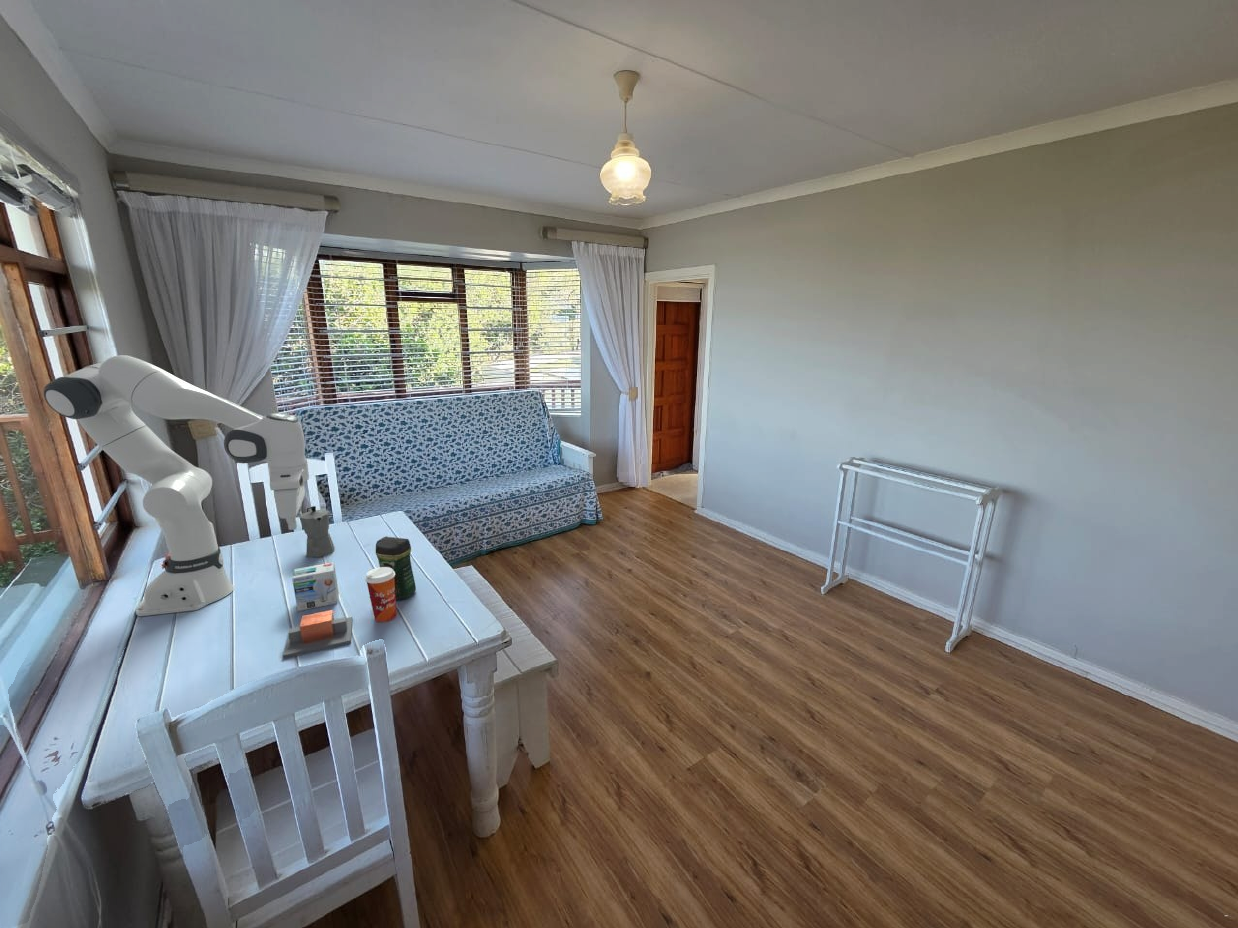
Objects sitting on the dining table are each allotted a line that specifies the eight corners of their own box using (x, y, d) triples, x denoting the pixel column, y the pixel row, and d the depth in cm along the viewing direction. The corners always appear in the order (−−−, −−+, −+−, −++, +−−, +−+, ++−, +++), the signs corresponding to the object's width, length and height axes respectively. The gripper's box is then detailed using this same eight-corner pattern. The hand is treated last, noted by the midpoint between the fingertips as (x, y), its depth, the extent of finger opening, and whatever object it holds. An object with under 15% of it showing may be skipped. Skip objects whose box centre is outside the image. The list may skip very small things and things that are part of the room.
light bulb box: (297, 611, 144) (290, 578, 142) (299, 601, 150) (293, 568, 147) (339, 603, 149) (333, 570, 146) (339, 592, 155) (334, 561, 152)
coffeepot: (340, 554, 181) (333, 507, 176) (311, 562, 175) (302, 514, 170) (328, 541, 192) (320, 497, 187) (300, 548, 185) (291, 503, 181)
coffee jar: (420, 589, 157) (414, 535, 152) (404, 602, 150) (397, 545, 145) (394, 585, 159) (387, 531, 154) (376, 598, 152) (369, 542, 147)
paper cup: (381, 627, 137) (375, 581, 134) (365, 618, 141) (358, 574, 137) (406, 614, 144) (401, 570, 140) (390, 606, 148) (384, 563, 144)
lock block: (302, 643, 128) (299, 626, 127) (305, 632, 133) (302, 615, 132) (333, 636, 131) (331, 620, 130) (335, 626, 136) (332, 609, 135)
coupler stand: (283, 658, 124) (280, 644, 123) (290, 633, 134) (287, 620, 133) (351, 643, 130) (348, 629, 129) (352, 619, 141) (350, 607, 140)
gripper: (281, 465, 141) (287, 511, 145) (268, 486, 123) (275, 537, 127) (307, 463, 144) (312, 509, 147) (298, 483, 126) (304, 534, 129)
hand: (295, 522), depth 137 cm, fingers open, 8 cm apart
